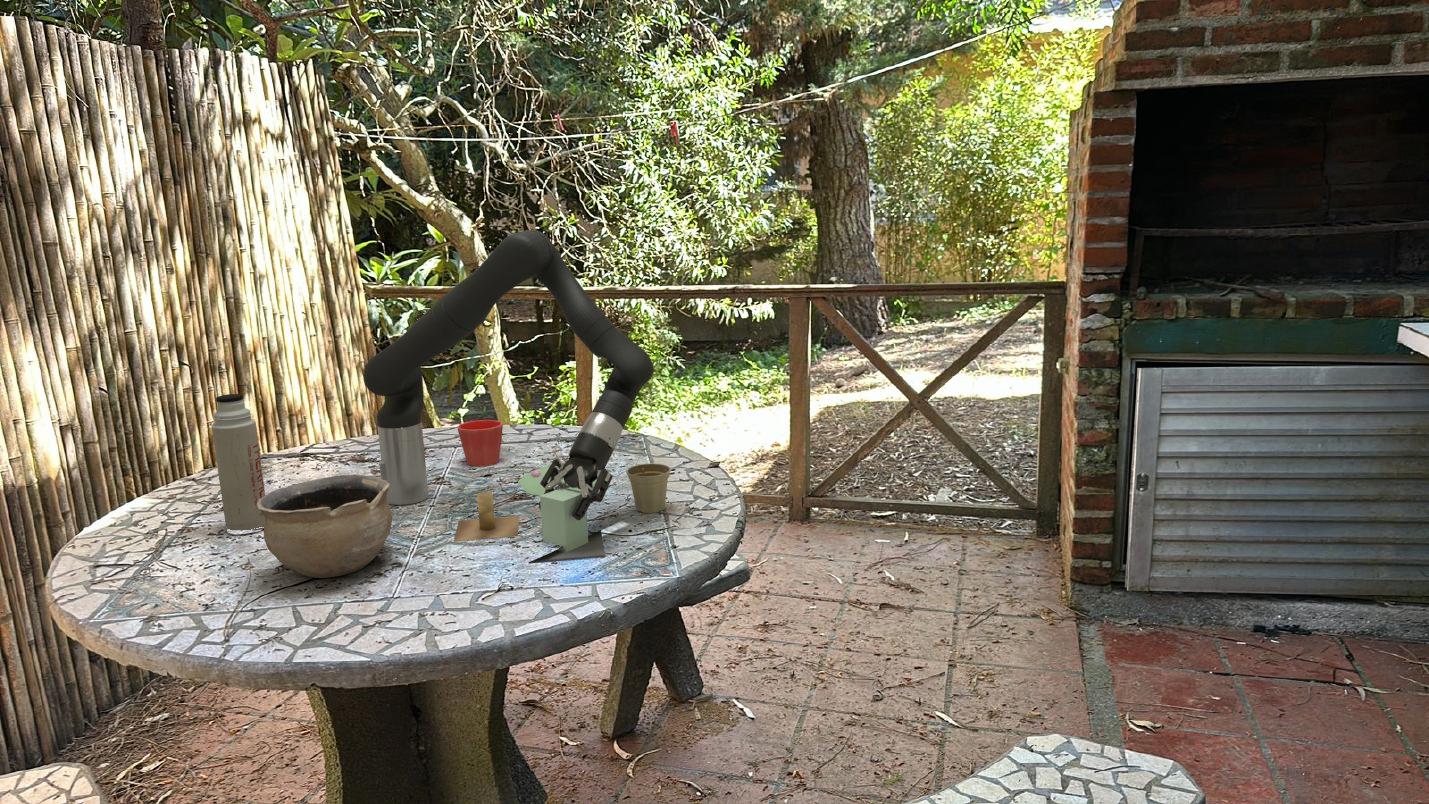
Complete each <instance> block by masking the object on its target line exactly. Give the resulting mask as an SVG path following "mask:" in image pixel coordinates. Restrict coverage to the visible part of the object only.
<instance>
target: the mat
mask: <svg viewBox="0 0 1429 804" xmlns="http://www.w3.org/2000/svg"><path fill="white" fill-rule="evenodd" d="M602 535H603V533H602V529H600V530H597V531H595V532H593V533H591V534H588V543H586V544H584V545H582V546H580V547H577V548H575V549H573V550H571V551H569V552H563V551H559V550H557V549H555V550H553V551H551V552H548V553H546V554H544V555H542V556H540V557H537V558H534V559H533V560H530V561H528V562H527V564H540V563H549V562H550V563H552V562H561V561H572V560H573V561H574V560H583V559H585V560H586V559H596V558H605V557H606V552H605V545H604V540H603V536H602Z"/></svg>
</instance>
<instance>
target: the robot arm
mask: <svg viewBox="0 0 1429 804" xmlns="http://www.w3.org/2000/svg"><path fill="white" fill-rule="evenodd" d="M531 278H535V279H536V280H537V281H539V282H540V283H541V284H542V285H544V286H545V288H546V289H547V290H548V291H549V292H550V293H551V295H552V296H553V298H554V299H555V301H556V303H557V304H558V307H559V308H560V310H561V312H562V314H563V316H564V318H565V321H566V323H567V324H568V326H569V327H570V329H571V331H572V332H573V333H574V334H575V335H576V337H578V339H579V340H580V341H581V342H582V343H583V344H584V345H585V347H586V348H587V349H588V350H589V351H590V352H591V353H592V355H594V356H595V357H597V358H604V359H606V360H607V361H608V362H610V364H612V365H613V368H612V370H611V372H610V374H609V376H608V378H607V381H606V383H605V386H604V389H603V391H602V394H601V395H600V396H599V398H598V400H597V401H596V403H595V405H594V406H593V409H592V411H591V412H590V414H589V416H588V417H587V419H586V420H585V421H584V423H583V425H582V427H581V428H580V431H579V433H578V434H577V436H576V438H575V440H574V442H573V444H572V446H571V448H570V449H569V456H568V457H569V458H568V459H567V460H568V461H567V462H563V461H562V462H560V461H561V460H560V461H559V460H558V459H555V458H553V459H552V461H553V462H552V463H551V465H550V464H549V465H550V467H549V469H548V470H547V472H546V474H545V475H544V477H543V479H542V481H541V482H540V484H541V485H542V486H543V487H544V488H545V493H544V494H547V493H549V492H552V491H554V490H557V489H560V488H569V487H571V488H578V489H581V492H582V498H580V499H579V500H578V502H577V504H576V506H575V508H574V510H573V512H572V516H573V517H574V518H575V519H576V520H581V518H583V517H584V515H585V513H586V511H588V509H589V507H590V506H591V504H593V503H595V502H597V503H601V502H602V501H604V498H605V496H606V494H607V490H608V489H609V486H610V483H611V481H612V479H613V478H614V477H613V474H612V473H611V472H609V470H607V469H606V467H607V464H608V463H609V461H610V460H611V459H610V458H611V456H612V455H613V453H614V451H615V449H616V447H617V445H618V443H619V440H620V438H621V436H622V433H623V430H624V428H625V426H626V424H627V422H628V420H629V419H630V416H631V414H632V412H633V405H634V403H635V401H636V398H637V396H638V395H639V393H640V391H641V390H642V388H643V387H644V386H645V385H646V384H647V383H648V382H649V381H650V380H651V379H652V377H653V375H654V371H655V368H654V367H655V366H654V363H653V361H652V358H651V357H650V356H649V355H648V353H647V352H646V350H644V348H642V347H641V346H640V345H639V344H637V343H635V341H633V340H632V339H630V338H629V337H627V335H625V334H623V333H622V332H620V331H619V329H618V328H617V327H616V326H615V325H614V323H613V322H612V321H611V320H610V319H609V318H608V316H607V315H605V313H604V312H603V311H602V310H601V309H600V308H599V306H598V305H597V304H596V303H595V302H594V300H593V299H592V298H591V297H590V295H588V293H587V292H586V291H585V289H584V288H583V286H581V284H580V282H579V280H577V278H576V277H575V276H574V273H573V272H572V270H571V269H570V268H569V267H568V265H567V264H566V262H565V261H564V259H563V257H562V256H561V254H560V253H559V251H558V249H557V248H556V246H555V245H554V244H553V242H552V241H551V239H550V238H549V237H548V236H547V235H546V234H545V233H543V232H541V231H540V230H536V229H526V230H521V231H518V232H514V233H511V234H509V235H508V236H506V237H505V238H504V239H503V240H502V241H501V242H500V243H499V244H498V245H497V247H496V248H495V249H493V251H492V252H491V253H490V254H489V256H487V258H486V259H485V260H484V261H483V262H482V263H481V265H479V267H478V268H477V269H476V270H475V271H473V272H472V273H471V274H470V275H468V276H467V277H466V278H464V279H463V280H461V281H460V282H459V283H458V284H456V285H455V286H454V287H453V288H451V289H450V290H449V291H448V292H446V293H445V294H444V295H443V296H442V297H441V298H440V299H439V300H437V301H436V302H435V303H434V304H433V305H432V306H431V307H430V308H429V309H428V310H427V311H426V312H425V313H424V314H422V315H421V317H419V318H418V320H416V321H415V322H414V323H413V324H412V325H411V326H410V327H409V328H408V329H407V330H406V331H405V333H403V334H402V335H401V336H400V337H399V338H398V339H396V340H394V341H393V342H392V343H391V344H390V345H388V346H387V347H385V348H384V349H382V350H381V351H380V352H378V353H377V354H374V355H373V356H372V357H370V359H369V360H368V362H367V363H366V365H365V366H364V371H363V382H364V385H365V387H366V389H367V390H368V391H369V392H371V394H374V395H376V396H379V397H385V401H384V403H383V405H382V406H381V407H380V409H379V410H378V411H377V414H376V425H377V435H378V443H379V444H378V445H379V452H380V454H379V455H380V461H379V462H378V463H379V471H380V472H379V473H380V479H382V480H386V481H387V482H388V483H389V484H390V485H389V489H388V492H387V496H386V498H387V500H388V503H389V505H393V506H395V505H397V506H402V505H403V506H405V505H412V504H416V503H420V502H423V501H425V500H426V499H429V486H428V475H427V465H426V455H425V454H426V453H425V444H424V443H425V442H424V435H423V424H422V413H423V409H424V403H425V401H424V378H423V370H422V366H423V365H424V364H426V363H427V362H429V361H431V360H433V359H434V358H435V357H437V356H440V355H441V354H444V353H445V352H446V351H448V350H449V349H451V348H453V347H455V346H457V345H458V344H459V343H461V342H462V341H464V340H465V339H466V338H468V337H469V336H470V335H471V334H472V333H473V332H474V331H475V330H476V329H478V328H479V327H480V325H481V324H483V323H484V321H485V320H486V319H487V317H488V315H489V314H490V313H491V311H492V309H493V308H494V306H495V305H496V304H497V302H498V301H499V300H501V298H502V297H503V296H504V295H506V294H507V293H508V292H510V291H512V290H513V289H514V288H515V287H518V286H519V285H520V284H521V283H523V282H525V281H527V280H529V279H531ZM550 478H551V480H550V481H549V479H550ZM563 478H564V482H563V481H562V479H563ZM596 479H597V481H596V483H595V485H593V482H594V481H595V480H596ZM548 481H549V483H548ZM556 485H558V486H557V487H556V488H554V487H555V486H556ZM538 508H539V510H541V505H540V501H539V503H538Z"/></svg>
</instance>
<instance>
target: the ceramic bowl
mask: <svg viewBox="0 0 1429 804" xmlns="http://www.w3.org/2000/svg"><path fill="white" fill-rule="evenodd" d="M389 485H390V484H389V483H388V482H387V481H386V480H382V479H381V477H377V476H372V475H365V474H344V475H333V476H328V477H321V478H320V477H319V478H316V479H311V480H307V481H303V482H298V483H295V484H292V485H291V484H290V485H288V486H284V487H281V488H280V487H279V488H277V489H275V490H272V491H270V492H268V493H267V494H265V496H264V497H262V498H261V499H259V501H258V503H257V506H258V508H259V510H260V511H261V513H262V514H263V515H264V530H263V539H264V542H265V545H266V547H267V549H268V551H269V552H270V553H271V554H272V555H273V556H274V557H275V558H276V559H277V561H278V562H280V563H281V564H282V565H283V566H284V568H288V569H289V570H292V571H294V572H295V573H297V574H299V575H302V576H304V577H308V578H316V579H318V578H319V579H322V578H323V579H324V578H325V579H326V578H336V577H341V576H345V575H348V574H352V573H355V572H357V571H360V570H362V569H363V568H364V567H366V566H367V565H369V564H370V563H371V562H372V561H373V560H374V559H375V558H376V557H377V556H378V555H379V553H380V552H381V550H382V548H383V547H384V545H385V543H386V541H387V539H388V537H389V535H390V533H391V529H392V525H393V524H392V523H393V517H392V516H393V515H392V512H391V511H392V510H391V507H390V504H389V503H388V500H387V498H386V496H387V492H388V489H389Z"/></svg>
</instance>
